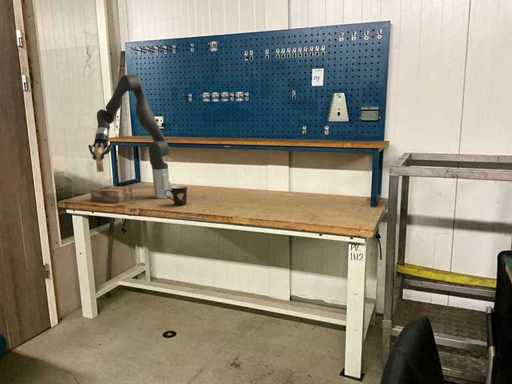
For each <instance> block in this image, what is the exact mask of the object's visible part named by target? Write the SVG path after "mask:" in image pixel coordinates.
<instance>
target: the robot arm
mask: <svg viewBox="0 0 512 384" xmlns="http://www.w3.org/2000/svg"><path fill="white" fill-rule="evenodd" d="M118 80H119V81H118V83H117V85H116V87H115V88H114V89H115V90H114V92H113V94H112V96H111V98H110V100H109V101H108V102H107V104H106V106H105V109H99V110H98V111H97V113H96V120H97V121H96V122H97V128H96V132H95V137H94V141H93V142H94V143H93V144H88V145H87V146H88V150H89V152H90V155H92V159H93V161H96V157H95V148H97V147H101V151H102V153H101V160H102V161H103V159H105V155H109V153H110V152H111V150H112V149H113V146H112V144H108V143H109V139H110V130H111V129H110V128H111V125H110V124H113V123H114V121H115V119H116V114H117V112H118V110H120V108H121V106H122V104H123V96H124V95H125V94H126V93H127V92H132V93H133V95H134V98H135V100H136V102H135V103H136V104H135V115H136V117H137V119H138V122H139V124H140V125H141V126H142V128H143V129H144V130H145V131H146V132H147V133H148V134H149V135H150V136H151V138H152V140H153V141H152V142H150V144H149V145H148V157H149V163H150V165H151V172H152V174H151V175H152V181H153V182H152V183H153V195H154V199H167V198H168V197H169V198H171V197H172V193H171V192H170V191H167V192H166V193H165V191H166V190H172V189H171V187H172V186H171V180H170V174H169V165H168V163H167V162H166V161H164V157H166V156H168V155H169V153H170V145H169V144H168V141H167V140H166V137H165V136H164V134H163V133H162V131H161V128H160V126H159V125H158V122H157V120H156V118H155V114H154V113H153V111H152V109H151V106H150V104H149V101H148V99H147V96H146V93H145V90H144V87H143V84H142V81H141V79H140V78H139V76H137V75H136V74H124V75H122V76H121V77H120V78H119V79H118ZM168 145H169V146H168ZM162 157H163V158H162ZM165 194H166V195H167V196H168V197H166V196H165ZM169 198H168V199H169Z"/></svg>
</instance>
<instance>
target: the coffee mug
mask: <svg viewBox="0 0 512 384" xmlns="http://www.w3.org/2000/svg"><path fill="white" fill-rule="evenodd" d="M167 191H170V192H171V195H172V198H171V197H168V196H167V195H166V194H165V196H166V197H168V199H169V200H172V201H173V203H174V204H173V205H174V206H176V207H183V206H186V205H187V201H188V200H187V198H188V197H187V196H188V185H184V184H182V185H181V184H177V185H173V186H171V190H166V191H165V193H166V192H167Z"/></svg>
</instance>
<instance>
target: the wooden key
mask: <svg viewBox="0 0 512 384" xmlns="http://www.w3.org/2000/svg"><path fill="white" fill-rule="evenodd" d="M101 153H102V151H101V147H97V148H95V157H96V160H95V164H96V172H97V173H101V172H103V173H104V162H103V160H101Z"/></svg>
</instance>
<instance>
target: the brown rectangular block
mask: <svg viewBox="0 0 512 384" xmlns="http://www.w3.org/2000/svg"><path fill="white" fill-rule="evenodd" d="M89 192H90V198H91V201H90V202H92V201H95V202H96V203H108V204H121V203H124V202H127V201H130V200H132V199H133V189H132V187H131V186H116V185H115V186H114V185H113V186H112V185H110V186H109V185H103V186H99V187H96V188H92V189H90V190H89ZM95 202H94V203H95Z"/></svg>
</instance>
